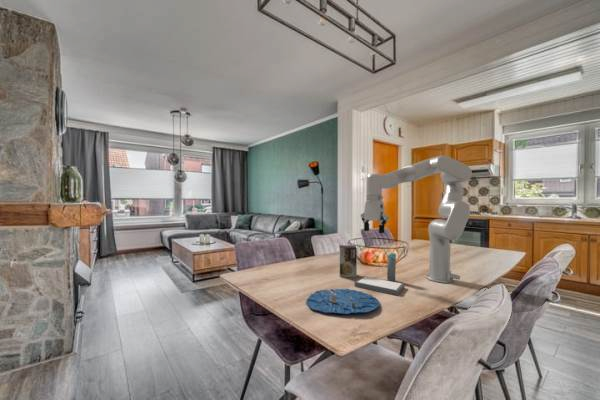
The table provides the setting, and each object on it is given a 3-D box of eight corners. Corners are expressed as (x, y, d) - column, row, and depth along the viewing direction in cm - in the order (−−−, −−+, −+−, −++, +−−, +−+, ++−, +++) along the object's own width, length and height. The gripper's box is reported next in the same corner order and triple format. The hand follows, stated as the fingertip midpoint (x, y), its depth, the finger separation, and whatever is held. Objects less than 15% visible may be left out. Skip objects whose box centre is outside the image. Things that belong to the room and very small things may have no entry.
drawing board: (404, 287, 123) (404, 283, 123) (397, 295, 113) (397, 290, 113) (363, 279, 134) (363, 275, 134) (354, 286, 124) (354, 282, 124)
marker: (396, 280, 134) (396, 253, 133) (394, 282, 130) (394, 255, 130) (388, 279, 136) (388, 252, 136) (385, 281, 132) (386, 253, 132)
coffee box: (355, 274, 144) (355, 245, 144) (356, 277, 138) (357, 247, 138) (338, 273, 145) (339, 244, 145) (339, 277, 139) (339, 247, 138)
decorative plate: (291, 300, 111) (291, 288, 111) (346, 288, 125) (346, 277, 125) (333, 328, 85) (333, 312, 85) (396, 308, 100) (395, 295, 100)
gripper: (393, 198, 127) (392, 233, 127) (366, 198, 141) (366, 229, 142) (383, 198, 123) (382, 234, 123) (356, 198, 137) (356, 230, 137)
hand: (373, 231), depth 132 cm, fingers open, 9 cm apart
